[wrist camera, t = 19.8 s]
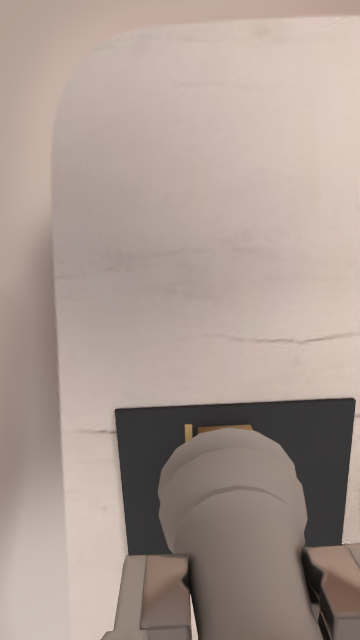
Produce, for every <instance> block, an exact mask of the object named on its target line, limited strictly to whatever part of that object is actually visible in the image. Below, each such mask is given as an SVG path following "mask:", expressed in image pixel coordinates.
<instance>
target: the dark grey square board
mask: <svg viewBox="0 0 360 640" xmlns="http://www.w3.org/2000/svg"><path fill="white" fill-rule="evenodd" d="M355 403H356V400H355V399H354V398H348V399H326V400H304V401H283V402H261V403H239V404H217V405H196V406H174V407H152V408H131V409H116V410H115V416H116V427H117V437H118V448H119V458H120V469H121V480H122V490H123V501H124V512H125V522H126V533H127V543H128V554H129V555H153V554H173V553H172V551H171V550H170V549H169V548H168V545H167V542H166V538H165V535H164V532H163V529H162V525H161V522H160V519H159V509H160V500H159V496H158V487H159V481H160V475H161V470H162V468H163V467H164V465H165V464H166V463H167V461H168V460H169V458H170V457H171V455H172V454H173V452H174V451H175V450H176V448H178V447H179V446H181V445H183V444H184V443H186V442H187V441H189V440H190V439H192V438H193V437H195V436H197V435H198V429H197V428H198V427H206V426H228V425H249V424H250V425H251V427H252V429H253V431H256V432H258V433H260V434H262V435H264V436H265V437H267V438H269V439H271V440H273V441H274V442H276V443H278V444H280V446H281V447H282V448H283V450H284V451H285V452H286V454H287V455H288V456H289V458H290V459H291V461H292V462H293V463H294V466H295V472H296V477H297V479H298V480H299V482H300V483H301V484H302V487H303V493H304V499H305V504H306V511H307V519H308V520H307V523H306V526H305V530H304V538H305V545H304V547H305V546H319V545H333V544H341V543H342V533H343V523H344V513H345V503H346V493H347V483H348V473H349V463H350V453H351V443H352V433H353V423H354V413H355ZM302 567H303V565H302ZM303 569H304V567H303ZM189 588H190V587H189ZM190 594H191V592H190Z"/></svg>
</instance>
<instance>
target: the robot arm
mask: <svg viewBox="0 0 360 640" xmlns="http://www.w3.org/2000/svg"><path fill="white" fill-rule="evenodd" d="M300 558H301V562H302V565H303V567H304V569H303V572H304V576H305V580H306V585H307V589H308V593H309V597H310V602H311V606H312V610H313V614H314V617H315V620H316V622H317V625H318V628H319V631H320V633H321V636H322V639H323V640H360V543H355V544H344V545H343V544H333V545H319V546H305V547H302V549H301V557H300ZM101 640H192V631H191V608H190V588H189V569H188V554H153V555H129V556H126V558H125V561H124V565H123V571H122V578H121V584H120V591H119V597H118V604H117V611H116V617H115V624H114V630H113V631H108V632H106V633H105V635H104V636H103V637H102V639H101Z"/></svg>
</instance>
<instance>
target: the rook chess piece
mask: <svg viewBox="0 0 360 640" xmlns="http://www.w3.org/2000/svg"><path fill="white" fill-rule="evenodd" d="M158 496H159V500H160V509H159V519H160V522H161V525H162V529H163V532H164V535H165V538H166V542H167V545H168V548H169V549H170V550H171V551H172V553H173V554H188V569H189V587H190V592H191V598H192V604H193V609H194V615H195V621H196V626H197V632H198V640H323V639H322V636H321V633H320V631H319V628H318V625H317V622H316V620H315V617H314V614H313V610H312V606H311V602H310V597H309V593H308V589H307V585H306V580H305V576H304V572H303V567H302V562H301V558H300V557H301V549H302V547H304V545H305V538H304V530H305V526H306V523H307V520H308V519H307V511H306V504H305V499H304V493H303V487H302V484H301V483H300V482H299V480H298V479H297V477H296V472H295V466H294V463H293V462H292V461H291V459H290V458H289V456H288V455H287V454H286V452H285V451H284V450H283V448H282V447H281V446H280V444H278V443H276V442H274V441H273V440H271V439H269V438H267V437H265V436H264V435H262V434H260V433H258V432H256V431H251V430H243V429H236V428H228V427H227V428H223V429H218V430H214V431H209V432H205V433H200V434H198V435H197V436H195V437H193V438H192V439H190V440H189V441H187V442H186V443H184V444H183V445H181V446H179V447H178V448H176V450H175V451H174V452H173V454H172V455H171V457H170V458H169V460H168V461H167V463H166V464H165V465H164V467H163V468H162V470H161V475H160V481H159V487H158Z"/></svg>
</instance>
